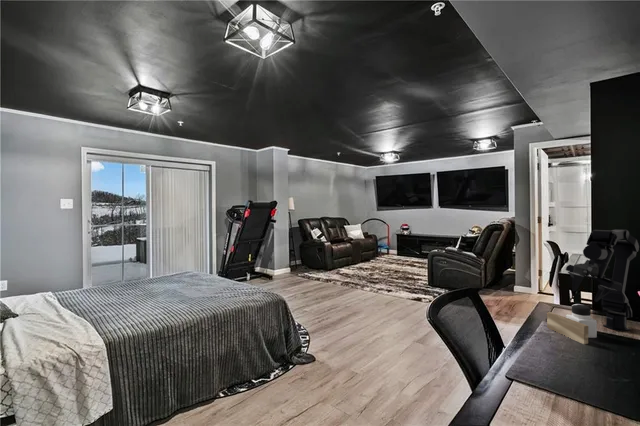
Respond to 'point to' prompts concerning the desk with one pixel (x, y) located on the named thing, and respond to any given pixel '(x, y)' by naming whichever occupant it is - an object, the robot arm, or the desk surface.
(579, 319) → the medicine bottle
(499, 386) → the desk surface
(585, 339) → the oak wall
